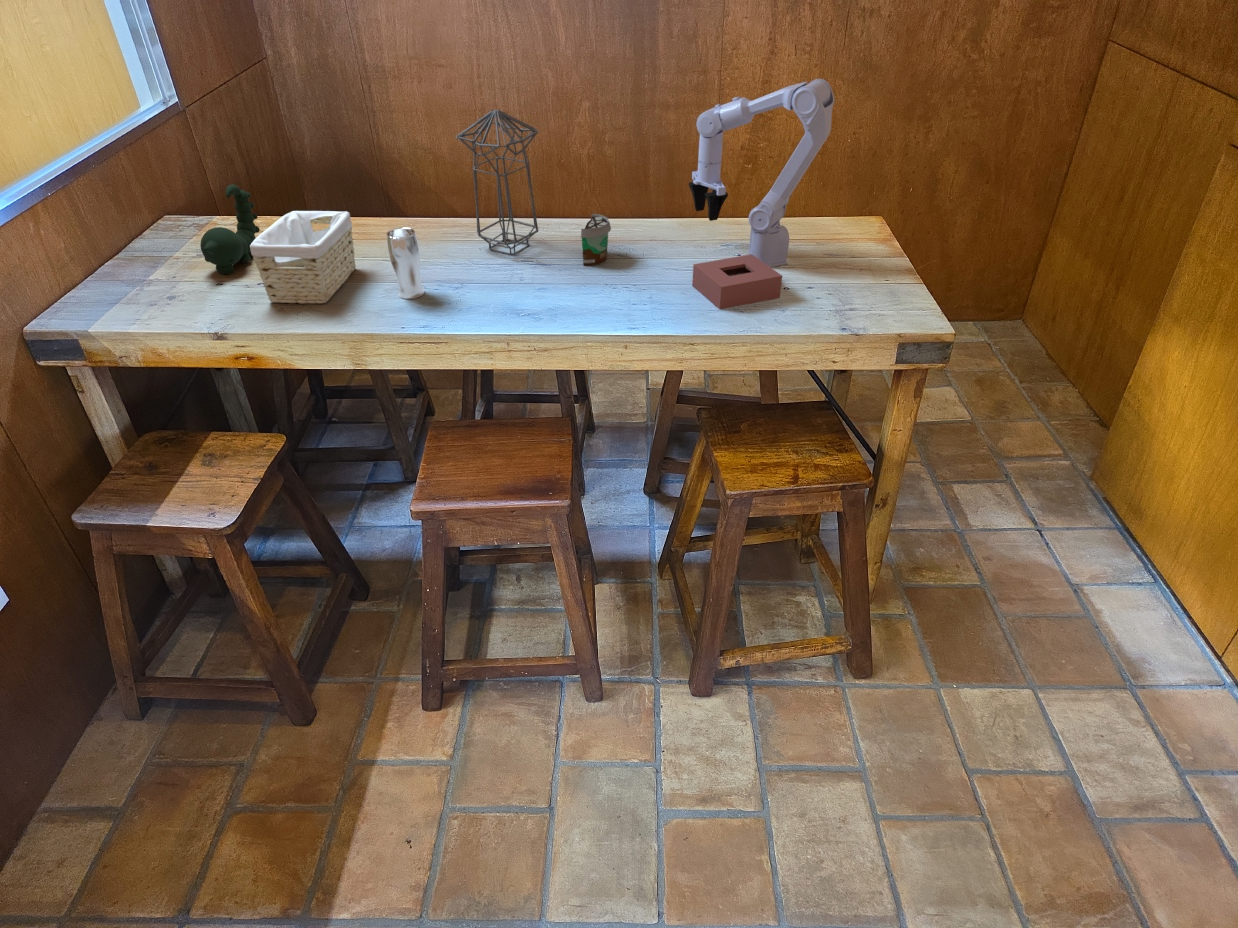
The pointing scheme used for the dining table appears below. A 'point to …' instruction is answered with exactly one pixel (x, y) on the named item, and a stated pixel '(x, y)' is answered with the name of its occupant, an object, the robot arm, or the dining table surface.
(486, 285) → the dining table surface
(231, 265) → the toy figurine
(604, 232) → the food container
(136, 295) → the dining table surface
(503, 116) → the geometric lantern
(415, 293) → the beer glass
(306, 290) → the storage basket
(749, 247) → the robot arm
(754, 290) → the box
